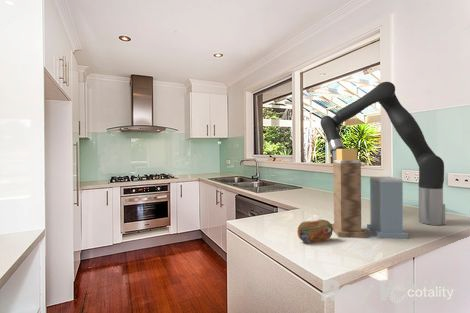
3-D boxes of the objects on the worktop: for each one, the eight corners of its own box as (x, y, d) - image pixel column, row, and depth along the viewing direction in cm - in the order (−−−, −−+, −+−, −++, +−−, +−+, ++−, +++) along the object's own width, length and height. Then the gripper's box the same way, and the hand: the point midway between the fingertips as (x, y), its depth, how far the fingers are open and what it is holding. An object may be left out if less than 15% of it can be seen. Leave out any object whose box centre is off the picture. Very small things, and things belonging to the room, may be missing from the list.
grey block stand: (392, 229, 109) (392, 176, 108) (408, 238, 97) (407, 179, 96) (366, 228, 110) (366, 176, 110) (379, 238, 98) (378, 179, 98)
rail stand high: (355, 228, 111) (354, 159, 110) (366, 237, 99) (365, 160, 98) (330, 227, 112) (330, 159, 112) (338, 237, 101) (337, 161, 100)
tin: (300, 244, 94) (300, 223, 93) (296, 241, 97) (296, 221, 96) (333, 240, 98) (333, 219, 97) (328, 237, 101) (328, 217, 100)
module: (343, 158, 119) (343, 148, 119) (356, 160, 101) (356, 148, 101) (330, 159, 120) (330, 149, 120) (342, 160, 102) (341, 148, 102)
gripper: (341, 142, 126) (352, 171, 119) (346, 149, 137) (356, 176, 131) (327, 147, 129) (336, 176, 123) (333, 154, 140) (342, 180, 134)
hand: (346, 176), depth 127 cm, fingers open, 8 cm apart
